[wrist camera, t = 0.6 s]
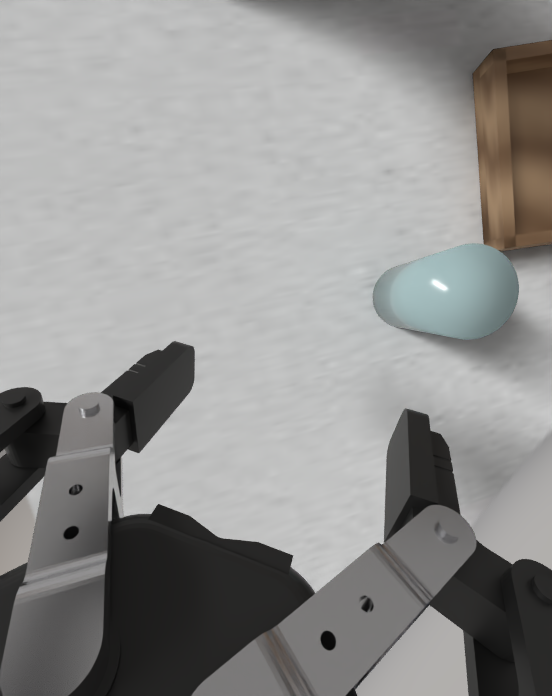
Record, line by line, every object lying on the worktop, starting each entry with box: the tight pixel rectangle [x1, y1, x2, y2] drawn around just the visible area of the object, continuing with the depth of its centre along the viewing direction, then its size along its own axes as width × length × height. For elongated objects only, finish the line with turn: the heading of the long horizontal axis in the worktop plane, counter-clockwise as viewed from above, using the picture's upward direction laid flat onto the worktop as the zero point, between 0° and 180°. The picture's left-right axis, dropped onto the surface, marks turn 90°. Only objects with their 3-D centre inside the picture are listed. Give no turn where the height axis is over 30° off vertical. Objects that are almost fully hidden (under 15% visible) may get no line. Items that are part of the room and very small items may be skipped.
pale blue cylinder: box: [373, 244, 519, 340], centre depth 28 cm, size 6×6×12 cm
